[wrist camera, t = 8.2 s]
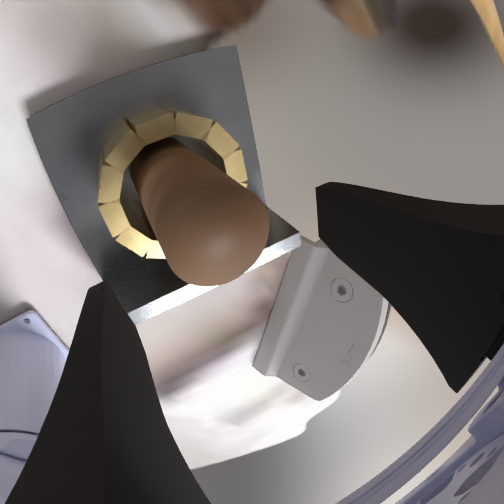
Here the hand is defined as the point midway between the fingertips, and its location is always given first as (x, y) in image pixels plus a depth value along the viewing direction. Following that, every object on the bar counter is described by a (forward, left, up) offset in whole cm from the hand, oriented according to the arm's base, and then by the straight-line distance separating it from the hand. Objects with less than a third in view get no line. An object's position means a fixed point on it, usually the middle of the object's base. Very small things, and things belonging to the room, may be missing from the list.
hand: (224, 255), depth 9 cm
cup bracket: (0, 0, -10) cm, 10 cm away
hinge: (+9, -18, -11) cm, 23 cm away
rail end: (0, 0, -9) cm, 9 cm away
